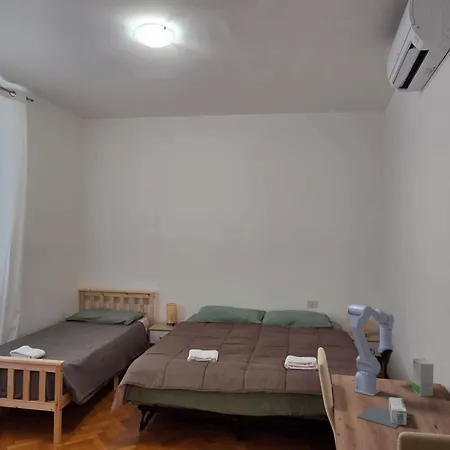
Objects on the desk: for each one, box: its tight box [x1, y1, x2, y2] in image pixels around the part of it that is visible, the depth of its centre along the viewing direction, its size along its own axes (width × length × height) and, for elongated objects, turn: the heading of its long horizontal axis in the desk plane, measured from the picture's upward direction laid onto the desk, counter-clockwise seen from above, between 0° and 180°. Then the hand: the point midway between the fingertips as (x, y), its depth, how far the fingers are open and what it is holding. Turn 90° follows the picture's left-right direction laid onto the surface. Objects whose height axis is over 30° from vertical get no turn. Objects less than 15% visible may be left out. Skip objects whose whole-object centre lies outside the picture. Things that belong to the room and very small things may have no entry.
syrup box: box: [388, 396, 407, 426], centre depth 188 cm, size 6×6×14 cm
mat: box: [356, 405, 410, 429], centre depth 190 cm, size 16×15×1 cm
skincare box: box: [411, 357, 435, 397], centre depth 217 cm, size 8×7×16 cm
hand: (385, 363), depth 229 cm, fingers closed
